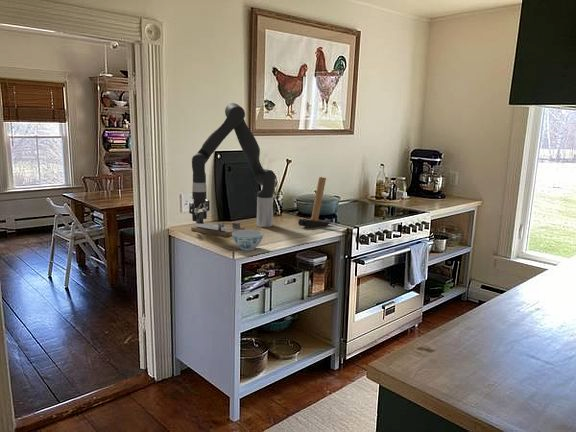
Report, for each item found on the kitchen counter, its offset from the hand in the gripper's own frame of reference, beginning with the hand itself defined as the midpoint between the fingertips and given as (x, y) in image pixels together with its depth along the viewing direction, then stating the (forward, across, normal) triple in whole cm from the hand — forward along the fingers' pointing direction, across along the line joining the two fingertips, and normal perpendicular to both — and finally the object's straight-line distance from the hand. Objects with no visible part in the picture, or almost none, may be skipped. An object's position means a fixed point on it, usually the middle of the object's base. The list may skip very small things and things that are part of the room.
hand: (199, 220), depth 250 cm
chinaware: (+6, -15, -43) cm, 46 cm away
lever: (+4, 0, -7) cm, 8 cm away
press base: (+6, +6, -8) cm, 12 cm away
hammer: (+6, +49, -46) cm, 68 cm away
